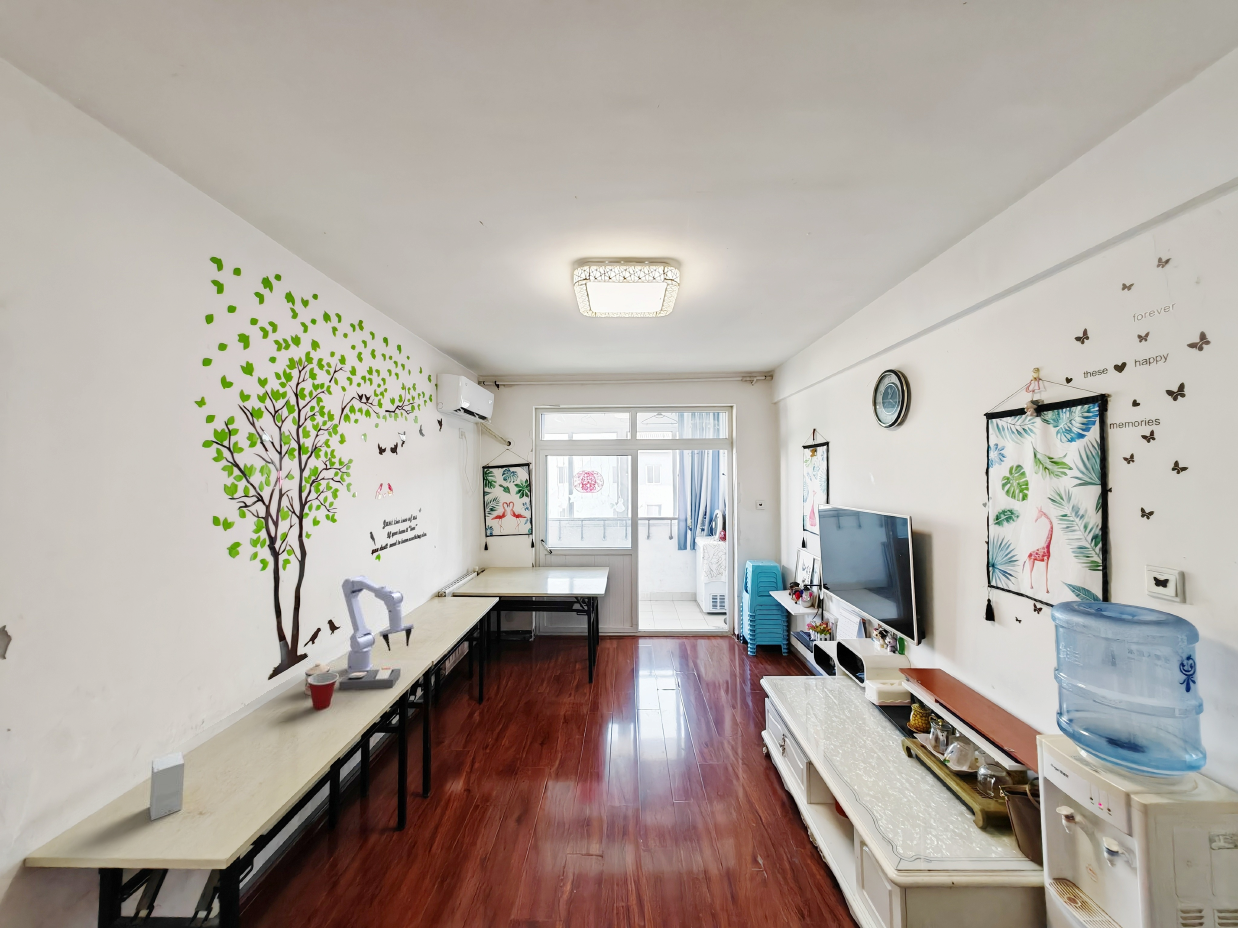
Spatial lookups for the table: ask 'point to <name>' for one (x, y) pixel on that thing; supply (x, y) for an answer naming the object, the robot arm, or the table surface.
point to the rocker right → (384, 672)
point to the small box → (166, 785)
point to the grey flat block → (369, 680)
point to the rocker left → (357, 674)
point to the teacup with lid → (311, 671)
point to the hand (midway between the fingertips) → (398, 648)
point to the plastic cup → (322, 689)
